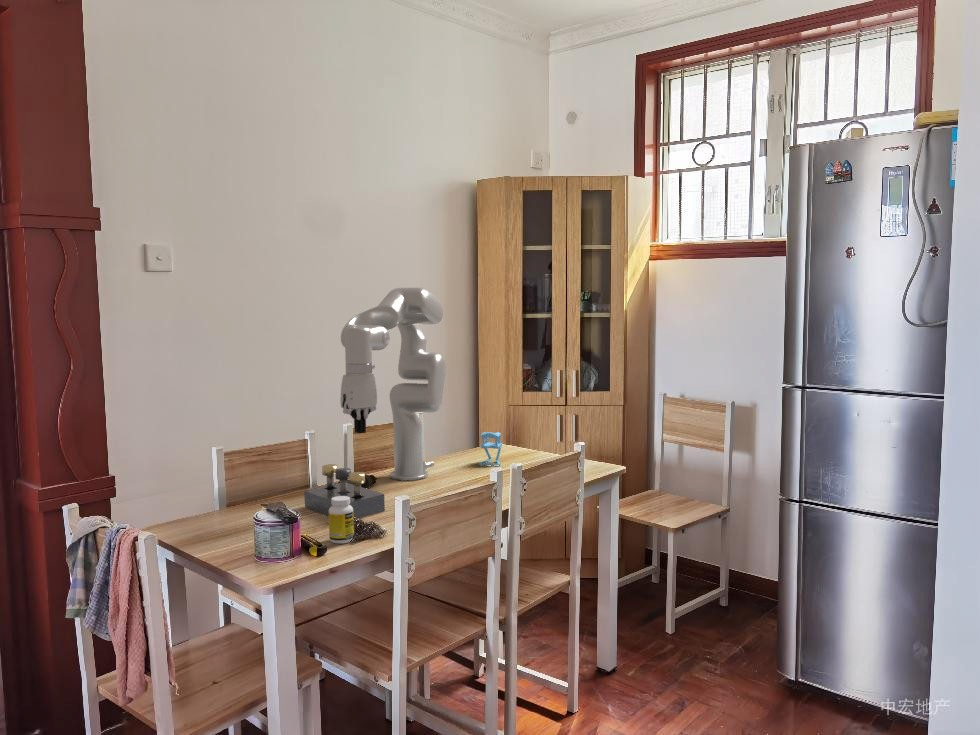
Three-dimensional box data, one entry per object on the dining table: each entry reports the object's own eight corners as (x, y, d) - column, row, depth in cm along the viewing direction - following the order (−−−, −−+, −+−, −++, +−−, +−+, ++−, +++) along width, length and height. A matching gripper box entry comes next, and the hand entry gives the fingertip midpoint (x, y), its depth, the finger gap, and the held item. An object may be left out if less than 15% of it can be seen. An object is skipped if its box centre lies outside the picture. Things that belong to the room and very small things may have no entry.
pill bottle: (349, 544, 199) (347, 501, 198) (325, 543, 200) (324, 501, 199) (357, 537, 205) (356, 495, 204) (334, 536, 207) (333, 494, 205)
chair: (504, 461, 288) (504, 429, 287) (499, 466, 280) (499, 433, 279) (483, 461, 290) (483, 428, 289) (478, 465, 282) (478, 432, 281)
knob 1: (332, 488, 238) (332, 463, 237) (341, 490, 235) (340, 465, 234) (320, 490, 235) (319, 466, 234) (328, 493, 232) (327, 468, 231)
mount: (345, 498, 242) (344, 482, 242) (384, 511, 228) (384, 494, 228) (305, 507, 233) (304, 490, 232) (343, 521, 219) (342, 504, 218)
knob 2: (359, 496, 228) (359, 471, 227) (368, 499, 225) (368, 473, 224) (346, 499, 225) (345, 473, 224) (355, 502, 222) (354, 476, 221)
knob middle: (346, 492, 233) (345, 467, 232) (354, 495, 230) (353, 469, 229) (333, 495, 230) (332, 469, 229) (341, 498, 227) (340, 472, 226)
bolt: (375, 490, 258) (345, 500, 245) (365, 481, 260) (334, 490, 247) (382, 476, 256) (352, 485, 243) (371, 467, 258) (341, 476, 245)
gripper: (372, 367, 237) (373, 428, 239) (329, 370, 227) (331, 434, 228) (387, 368, 232) (388, 430, 233) (344, 372, 221) (345, 437, 223)
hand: (360, 432), depth 231 cm, fingers closed
